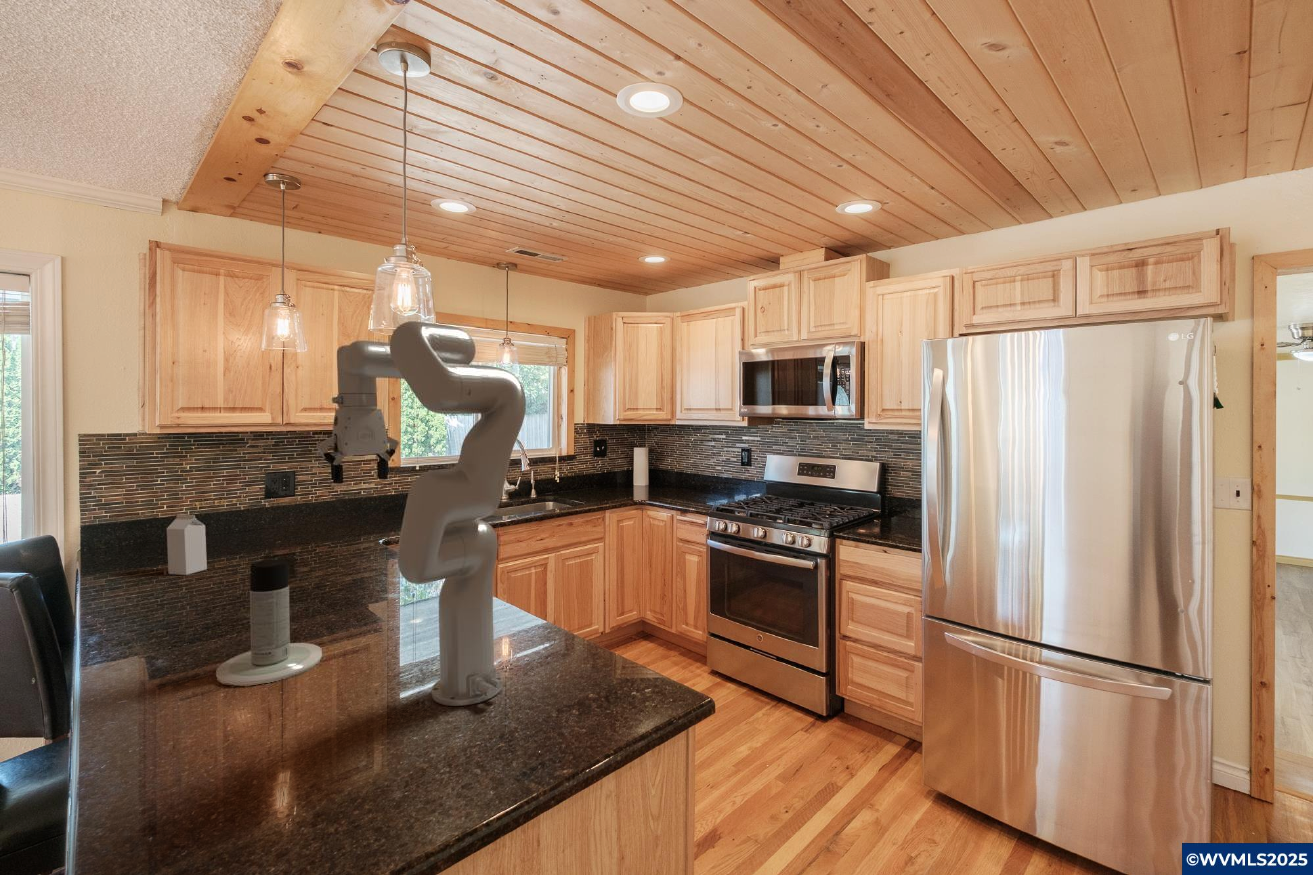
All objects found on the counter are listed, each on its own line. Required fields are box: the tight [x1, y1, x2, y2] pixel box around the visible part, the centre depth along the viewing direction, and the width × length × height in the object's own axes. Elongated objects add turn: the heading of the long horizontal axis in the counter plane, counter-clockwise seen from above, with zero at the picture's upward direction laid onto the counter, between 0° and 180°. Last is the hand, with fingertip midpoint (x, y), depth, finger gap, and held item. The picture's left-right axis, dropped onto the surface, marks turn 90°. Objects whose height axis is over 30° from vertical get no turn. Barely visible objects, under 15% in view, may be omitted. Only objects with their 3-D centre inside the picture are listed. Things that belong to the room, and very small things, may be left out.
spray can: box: [249, 558, 291, 666], centre depth 119 cm, size 7×7×20 cm
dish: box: [215, 642, 323, 685], centre depth 119 cm, size 18×18×1 cm
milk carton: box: [166, 514, 208, 576], centre depth 192 cm, size 7×7×19 cm
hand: (361, 481), depth 128 cm, fingers open, 9 cm apart
